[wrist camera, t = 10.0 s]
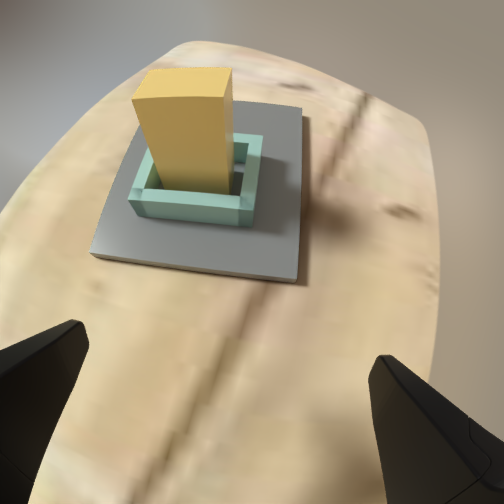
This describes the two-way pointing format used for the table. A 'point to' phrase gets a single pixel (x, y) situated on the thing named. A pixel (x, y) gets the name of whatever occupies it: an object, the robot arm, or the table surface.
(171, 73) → the block
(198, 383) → the table surface
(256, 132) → the plate
